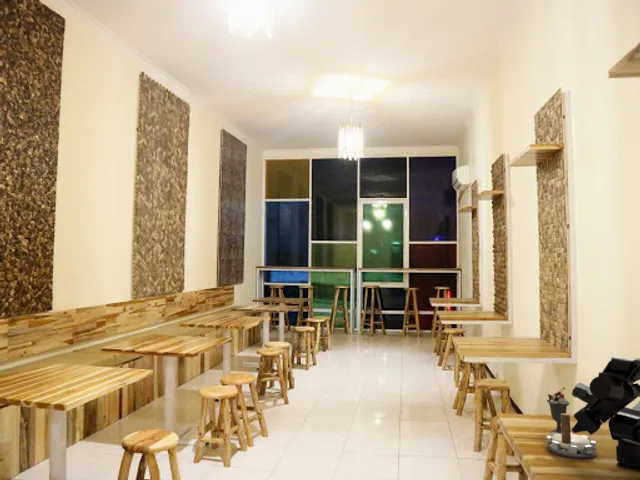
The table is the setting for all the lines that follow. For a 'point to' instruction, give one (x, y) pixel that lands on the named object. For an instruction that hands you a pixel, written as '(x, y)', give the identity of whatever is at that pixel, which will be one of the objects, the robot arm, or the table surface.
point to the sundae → (557, 408)
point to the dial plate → (574, 456)
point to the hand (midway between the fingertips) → (573, 431)
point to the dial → (569, 435)
